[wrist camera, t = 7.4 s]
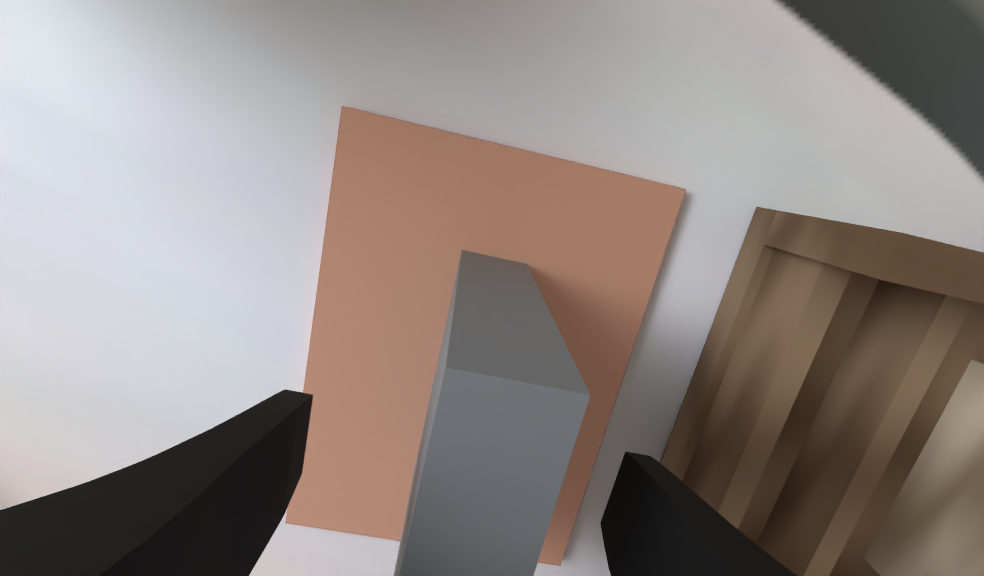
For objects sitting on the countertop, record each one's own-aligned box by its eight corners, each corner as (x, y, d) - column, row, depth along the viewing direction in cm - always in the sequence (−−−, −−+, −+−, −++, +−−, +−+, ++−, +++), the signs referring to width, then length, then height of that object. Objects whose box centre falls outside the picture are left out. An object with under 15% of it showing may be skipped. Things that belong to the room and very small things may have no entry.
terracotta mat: (558, 557, 18) (560, 566, 17) (289, 514, 17) (285, 523, 16) (680, 188, 14) (686, 189, 14) (345, 107, 13) (341, 105, 13)
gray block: (470, 484, 16) (467, 785, 8) (413, 474, 16) (355, 774, 8) (526, 264, 14) (590, 394, 6) (462, 249, 14) (445, 366, 6)
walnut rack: (943, 617, 19) (1100, 772, 14) (621, 566, 18) (675, 718, 13) (1142, 300, 16) (1442, 364, 11) (757, 207, 14) (901, 232, 9)
